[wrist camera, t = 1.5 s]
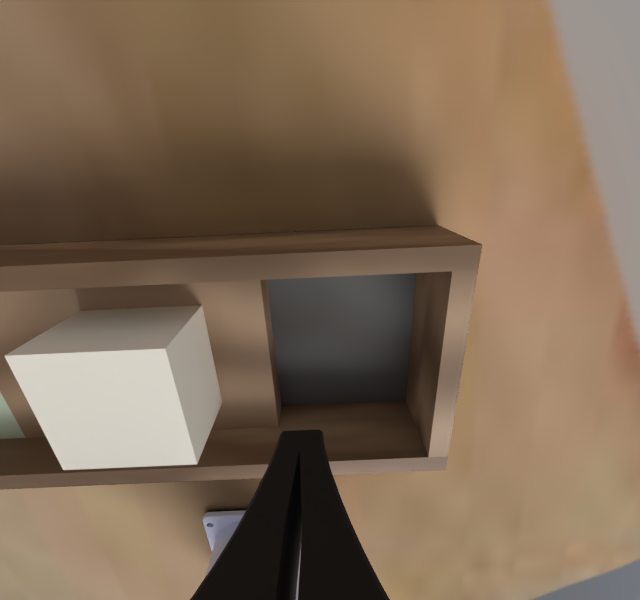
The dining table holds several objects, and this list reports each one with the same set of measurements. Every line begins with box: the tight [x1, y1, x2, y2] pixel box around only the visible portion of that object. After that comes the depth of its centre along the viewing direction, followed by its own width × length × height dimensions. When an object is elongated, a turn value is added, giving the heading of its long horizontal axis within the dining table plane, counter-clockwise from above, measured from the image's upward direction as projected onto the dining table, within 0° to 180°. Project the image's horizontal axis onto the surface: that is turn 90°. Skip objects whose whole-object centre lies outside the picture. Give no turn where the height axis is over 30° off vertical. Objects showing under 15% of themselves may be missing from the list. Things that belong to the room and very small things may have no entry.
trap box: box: [0, 225, 482, 489], centre depth 16 cm, size 12×32×4 cm, turn 92°
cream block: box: [5, 305, 222, 470], centre depth 14 cm, size 6×6×4 cm
